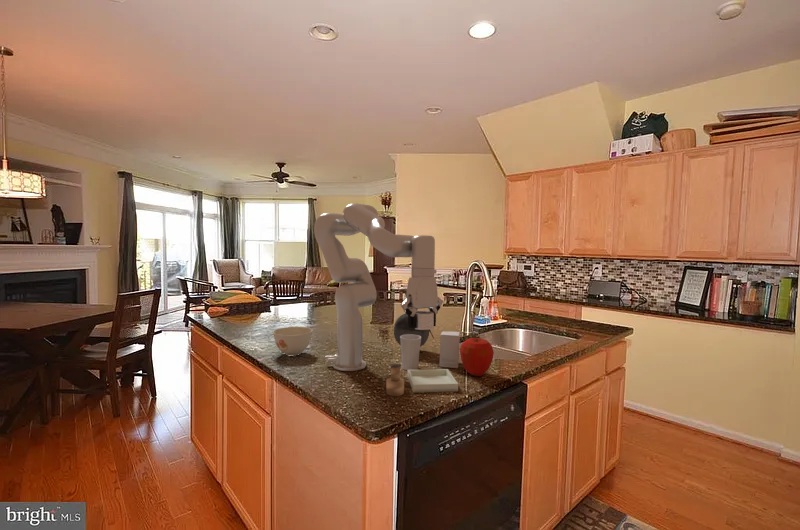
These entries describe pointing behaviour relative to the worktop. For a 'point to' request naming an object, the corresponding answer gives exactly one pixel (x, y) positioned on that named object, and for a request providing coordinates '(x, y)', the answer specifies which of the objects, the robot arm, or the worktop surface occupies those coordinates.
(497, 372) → the worktop surface
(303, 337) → the bowl
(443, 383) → the tray
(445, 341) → the supplement box
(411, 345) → the cup
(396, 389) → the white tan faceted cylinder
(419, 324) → the ring
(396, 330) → the pitcher
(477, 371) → the apple
